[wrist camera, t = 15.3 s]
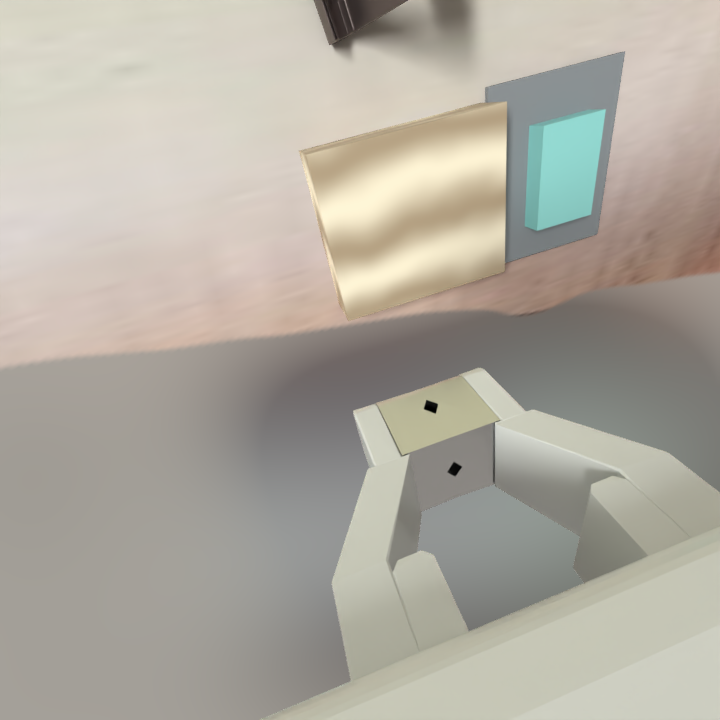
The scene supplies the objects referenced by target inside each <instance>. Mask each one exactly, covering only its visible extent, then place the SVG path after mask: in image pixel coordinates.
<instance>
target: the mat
mask: <svg viewBox="0 0 720 720" xmlns="http://www.w3.org/2000/svg"><path fill="white" fill-rule="evenodd" d="M624 55H625V52H620V53H616V54H612V55H608V56H605V57H601V58H597V59H593V60H589V61H585V62H582V63H578V64H574V65H570V66H566V67H562V68H559V69H555V70H551V71H547V72H543V73H539V74H536V75H532V76H528V77H524V78H520V79H516V80H512V81H509V82H505V83H501V84H497V85H493V86H489V87H486V88H485V98H486V103H490V102H505V101H507V146H506V219H505V263H507V262H510V261H513V260H517V259H520V258H523V257H526V256H529V255H533V254H536V253H539V252H542V251H545V250H549V249H552V248H555V247H558V246H561V245H564V244H568V243H571V242H574V241H577V240H580V239H584V238H587V237H590V236H593V235H596V234H597V233H598V227H599V220H600V214H601V207H602V200H603V194H604V187H605V181H606V174H607V167H608V161H609V154H610V148H611V141H612V134H613V128H614V121H615V115H616V108H617V101H618V95H619V88H620V82H621V75H622V68H623V62H624ZM594 109H606V112H605V119H604V126H603V133H602V140H601V147H600V154H599V161H598V168H597V176H596V183H595V190H594V197H593V204H592V211H591V215H588V216H585V217H581V218H578V219H575V220H572V221H568V222H565V223H562V224H558V225H555V226H552V227H548V228H545V229H542V230H538V231H536V230H533V229H531V228H528V227H525V209H526V187H527V165H528V144H529V126H530V125H533V124H537V123H541V122H545V121H548V120H552V119H556V118H559V117H563V116H567V115H571V114H574V113H578V112H582V111H585V110H594Z"/></svg>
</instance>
